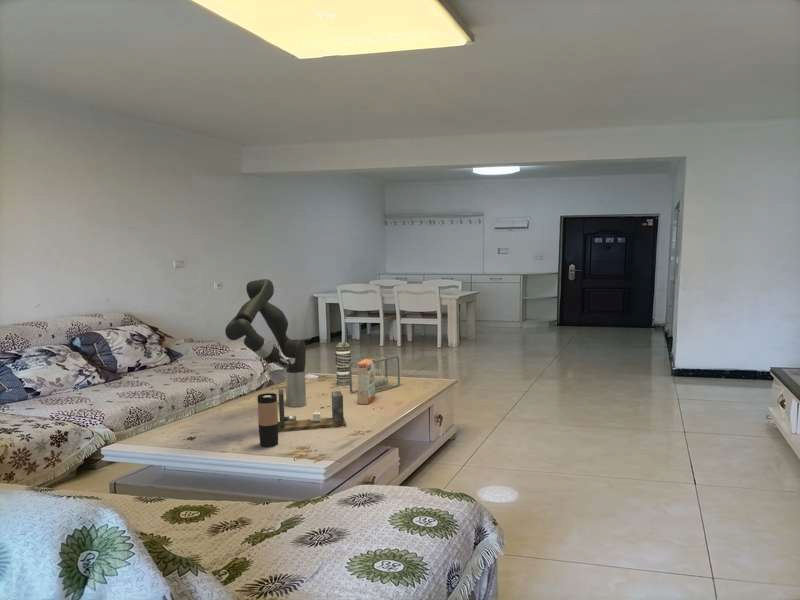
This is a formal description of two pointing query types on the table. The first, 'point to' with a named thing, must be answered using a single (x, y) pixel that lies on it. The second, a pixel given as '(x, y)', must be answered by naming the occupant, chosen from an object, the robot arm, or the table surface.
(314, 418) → the cream lever switch
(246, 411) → the table surface
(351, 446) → the table surface
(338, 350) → the decorative candle
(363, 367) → the cracker box
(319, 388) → the table surface
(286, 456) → the table surface
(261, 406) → the travel mug
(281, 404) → the brushed metal plate
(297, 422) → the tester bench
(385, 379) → the newton's cradle
